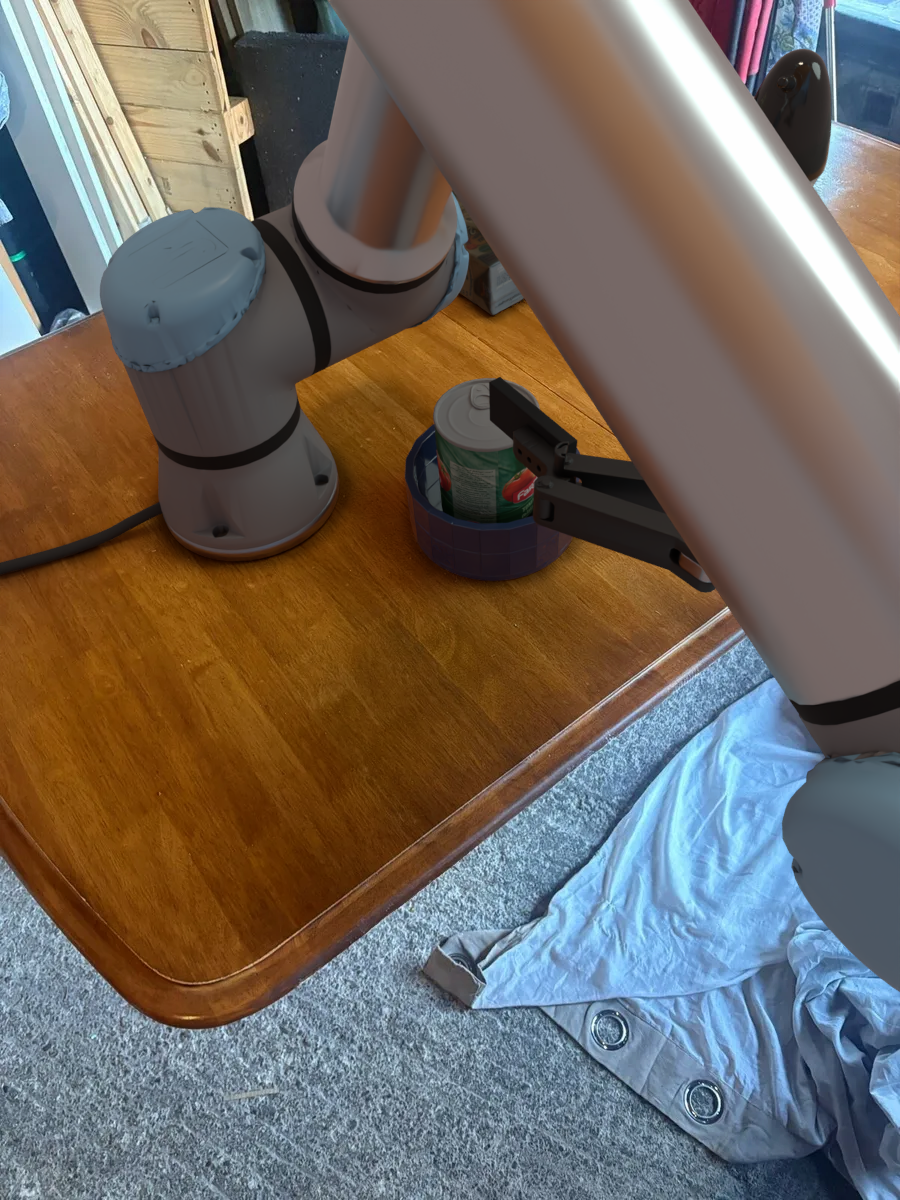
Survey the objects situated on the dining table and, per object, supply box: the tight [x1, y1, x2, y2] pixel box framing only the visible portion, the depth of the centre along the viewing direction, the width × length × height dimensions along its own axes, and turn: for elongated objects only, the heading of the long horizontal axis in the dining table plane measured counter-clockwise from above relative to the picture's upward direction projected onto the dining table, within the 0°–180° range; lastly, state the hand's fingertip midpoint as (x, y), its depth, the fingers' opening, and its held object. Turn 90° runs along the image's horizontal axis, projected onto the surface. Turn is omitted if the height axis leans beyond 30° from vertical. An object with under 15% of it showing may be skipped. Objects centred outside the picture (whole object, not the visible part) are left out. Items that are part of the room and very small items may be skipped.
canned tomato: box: [432, 377, 541, 524], centre depth 69 cm, size 8×8×11 cm
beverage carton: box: [452, 190, 525, 316], centre depth 95 cm, size 8×19×7 cm, turn 37°
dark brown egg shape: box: [753, 48, 833, 187], centre depth 97 cm, size 10×10×15 cm
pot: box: [404, 423, 581, 582], centre depth 72 cm, size 14×14×6 cm
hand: (587, 350), depth 52 cm, fingers open, 13 cm apart
